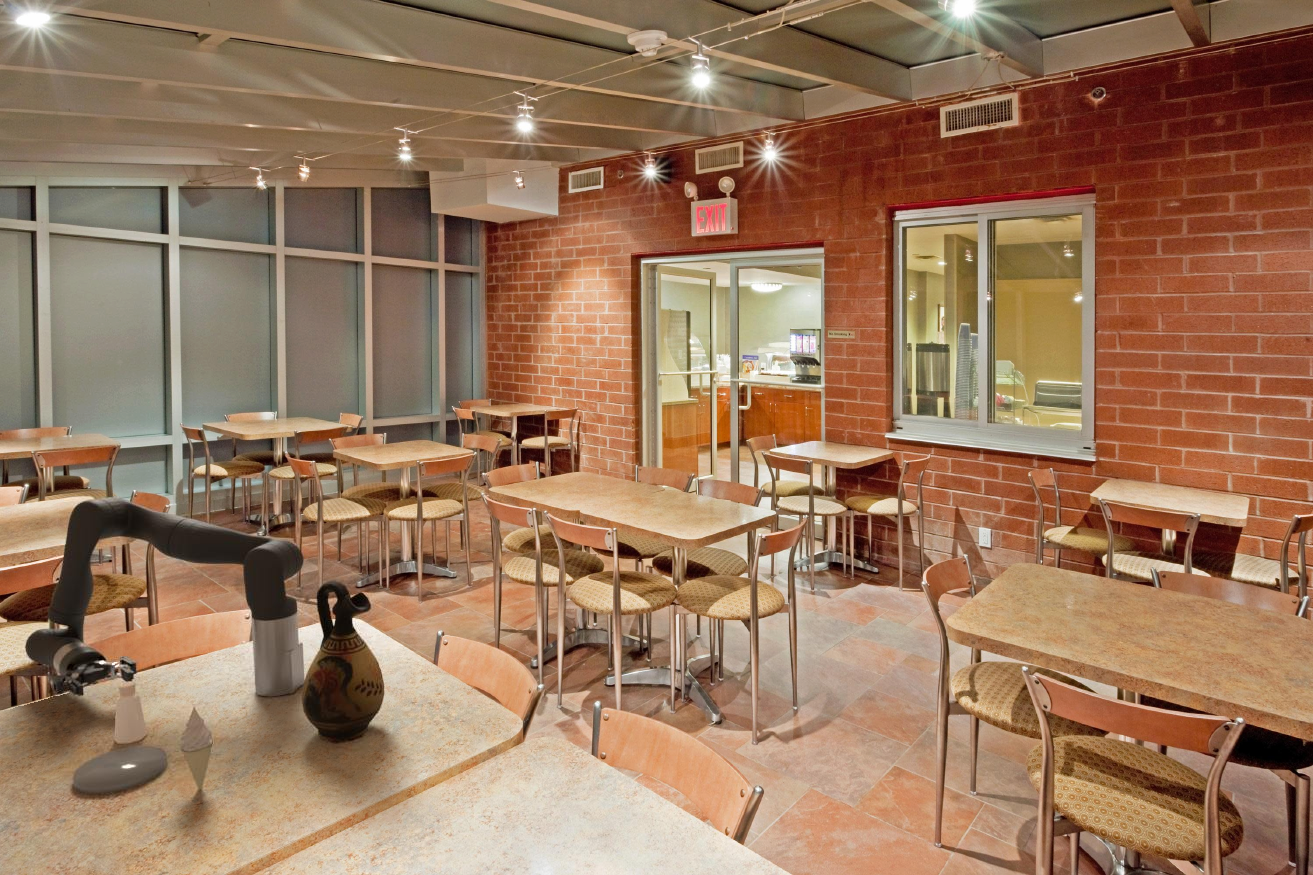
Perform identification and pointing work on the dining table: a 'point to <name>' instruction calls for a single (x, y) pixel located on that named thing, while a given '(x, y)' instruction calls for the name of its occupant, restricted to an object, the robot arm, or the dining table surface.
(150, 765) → the grey round coaster
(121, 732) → the pepper shaker
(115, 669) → the robot arm
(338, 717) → the ceramic jug
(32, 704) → the dining table surface
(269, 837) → the dining table surface
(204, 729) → the ice cream cone
